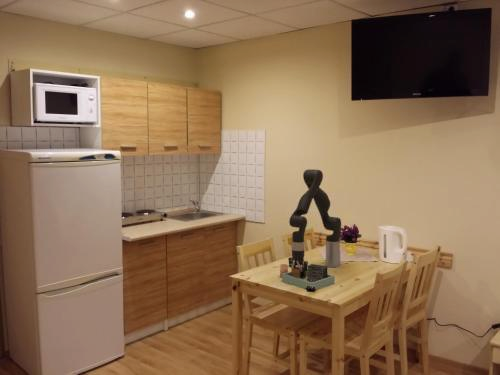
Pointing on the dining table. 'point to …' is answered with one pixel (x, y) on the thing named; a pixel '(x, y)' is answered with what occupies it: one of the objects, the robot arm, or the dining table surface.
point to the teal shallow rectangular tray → (303, 283)
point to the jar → (283, 269)
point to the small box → (317, 272)
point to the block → (297, 272)
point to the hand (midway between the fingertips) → (297, 276)
